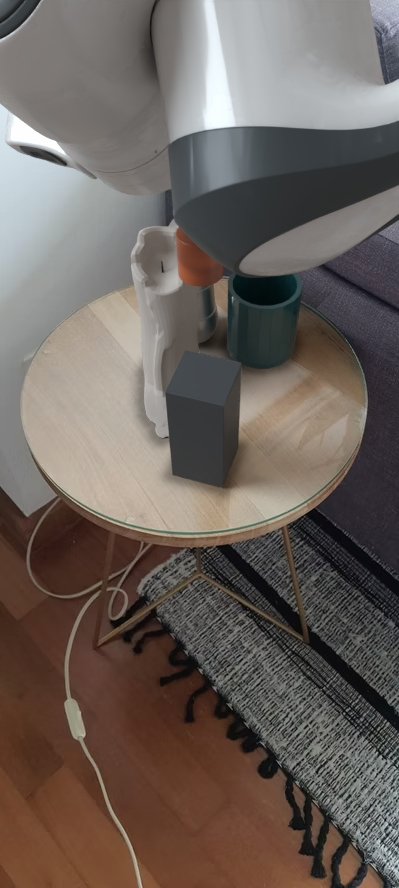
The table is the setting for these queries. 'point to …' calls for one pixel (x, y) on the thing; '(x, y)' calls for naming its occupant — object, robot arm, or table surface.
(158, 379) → the candle
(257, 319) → the teal cup
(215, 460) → the stand
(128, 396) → the table surface
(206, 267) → the rod with orange collar
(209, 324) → the silver metal bottle
